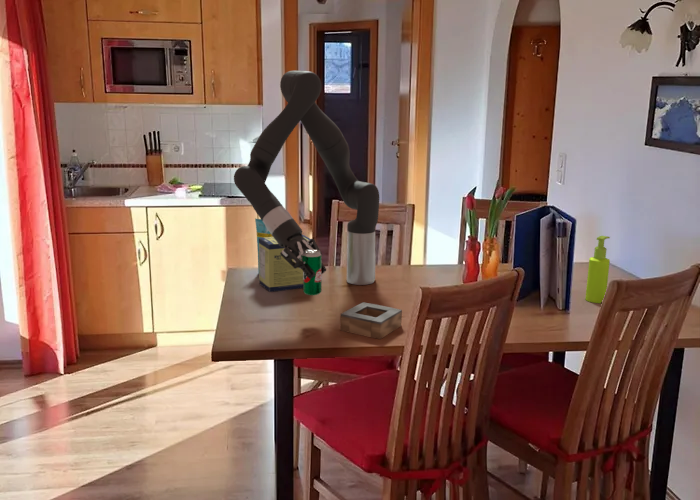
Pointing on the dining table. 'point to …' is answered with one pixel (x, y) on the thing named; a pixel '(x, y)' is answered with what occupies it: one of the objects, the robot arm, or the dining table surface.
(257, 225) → the tube
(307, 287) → the soda can
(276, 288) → the protein box
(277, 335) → the dining table surface
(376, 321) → the square holder
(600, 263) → the soap dispenser
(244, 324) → the dining table surface
